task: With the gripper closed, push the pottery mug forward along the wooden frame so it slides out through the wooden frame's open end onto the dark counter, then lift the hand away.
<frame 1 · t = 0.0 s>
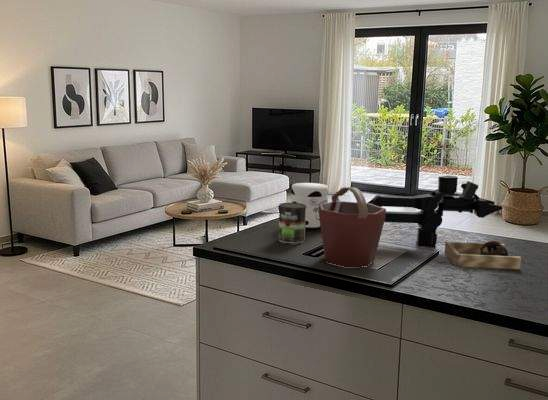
hand: (498, 205, 204), 17 cm above the counter, tool horizontal, fingers open, 9 cm apart
coffee can: (291, 241, 211), on the counter
bucket: (349, 261, 187), on the counter
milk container: (308, 227, 234), on the counter
pottery mug: (493, 261, 191), on the counter
wooden frame: (481, 260, 191), on the counter
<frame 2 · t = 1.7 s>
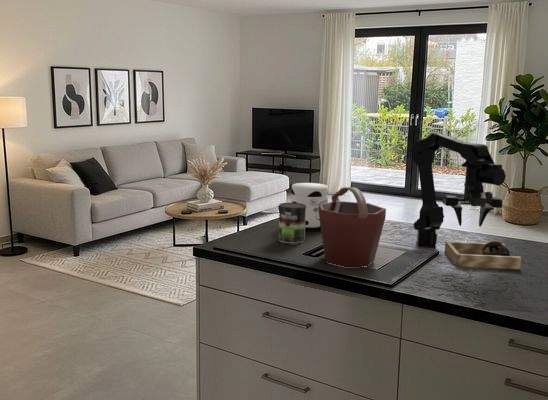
hand: (470, 226, 189), 12 cm above the counter, tool pointing down, fingers open, 6 cm apart
nothing on the counter moved.
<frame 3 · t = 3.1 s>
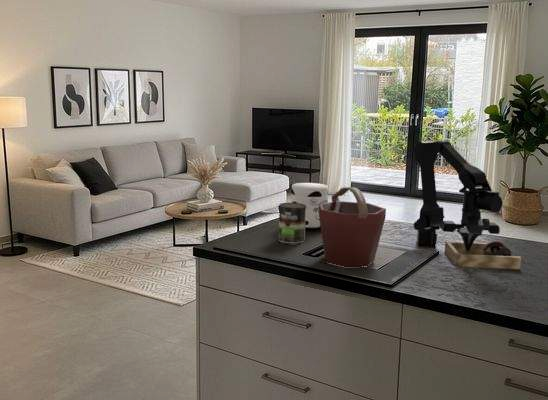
hand: (467, 251, 191), 3 cm above the counter, tool pointing down, fingers closed
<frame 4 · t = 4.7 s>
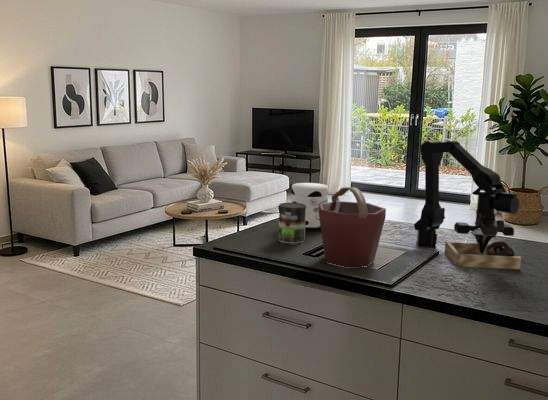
hand: (481, 253, 191), 3 cm above the counter, tool pointing down, fingers closed
pottery mug: (499, 262, 190), on the counter, touching gripper
everything else where it was.
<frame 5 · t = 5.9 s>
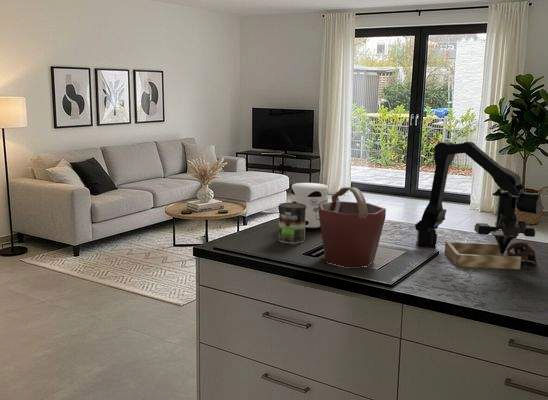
hand: (501, 253, 190), 3 cm above the counter, tool pointing down, fingers closed
pottery mug: (520, 263, 190), on the counter, touching gripper
everything else where it was.
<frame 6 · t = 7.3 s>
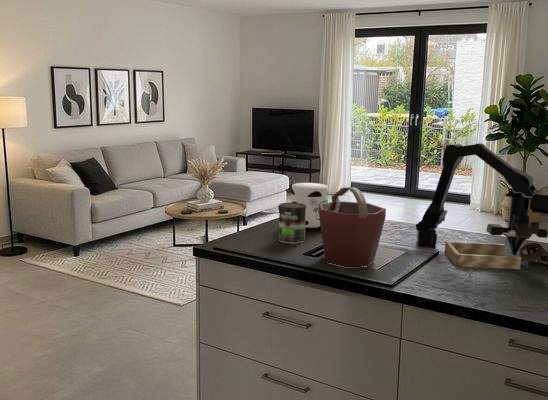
hand: (514, 254, 190), 2 cm above the counter, tool pointing down, fingers closed
pottery mug: (532, 263, 189), on the counter, touching gripper
everything else where it was.
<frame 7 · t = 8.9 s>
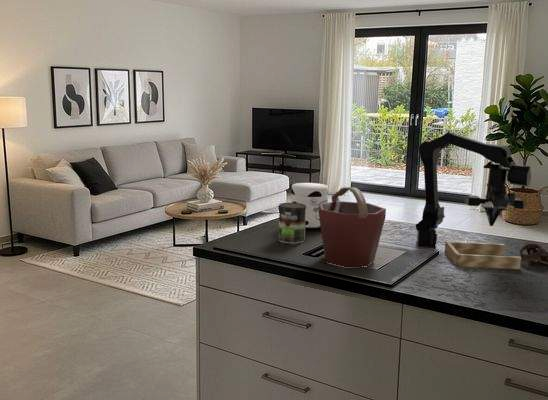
hand: (491, 225, 193), 11 cm above the counter, tool pointing down, fingers closed
pottery mug: (533, 263, 189), on the counter
everything else where it was.
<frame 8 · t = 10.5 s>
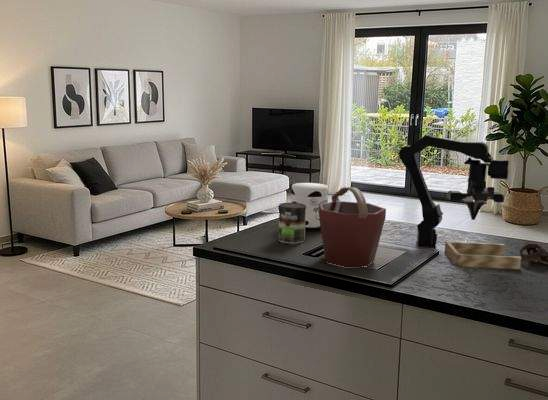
hand: (473, 219, 200), 12 cm above the counter, tool pointing down, fingers closed
nothing on the counter moved.
at the end: pottery mug inside the target area (3.1 cm from its centre), on the counter; pottery mug tilted 1° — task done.
